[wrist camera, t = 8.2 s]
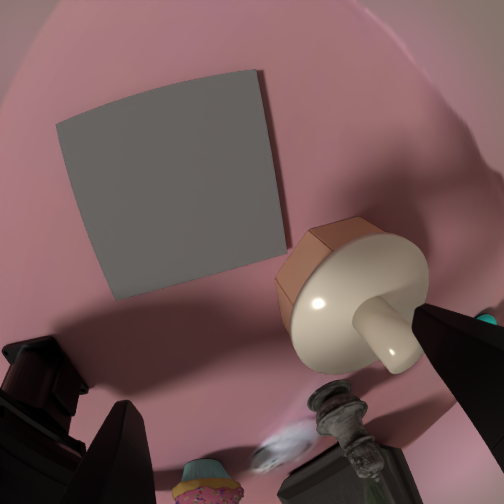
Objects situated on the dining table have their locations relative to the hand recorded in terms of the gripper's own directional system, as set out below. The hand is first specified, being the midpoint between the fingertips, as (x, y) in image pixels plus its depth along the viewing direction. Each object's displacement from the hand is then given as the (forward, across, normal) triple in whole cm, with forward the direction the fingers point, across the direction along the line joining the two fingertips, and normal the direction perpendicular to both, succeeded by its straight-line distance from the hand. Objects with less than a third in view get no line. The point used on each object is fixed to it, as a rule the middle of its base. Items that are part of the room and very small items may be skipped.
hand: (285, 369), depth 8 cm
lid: (+8, -8, +7) cm, 13 cm away
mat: (+12, +2, -3) cm, 13 cm away
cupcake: (+13, +10, +30) cm, 34 cm away
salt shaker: (+13, -7, +22) cm, 26 cm away
